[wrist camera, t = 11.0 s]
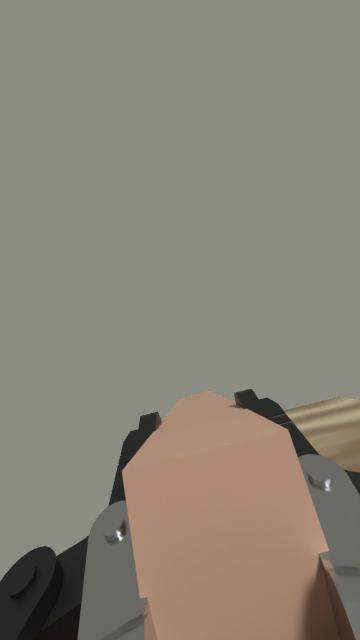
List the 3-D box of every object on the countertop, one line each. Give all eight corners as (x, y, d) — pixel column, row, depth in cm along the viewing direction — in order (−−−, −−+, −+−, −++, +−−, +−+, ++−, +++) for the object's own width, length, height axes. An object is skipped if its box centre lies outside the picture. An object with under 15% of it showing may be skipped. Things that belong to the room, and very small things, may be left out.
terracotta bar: (366, 660, 4) (288, 429, 5) (157, 714, 4) (121, 470, 5) (218, 422, 25) (210, 390, 26) (188, 430, 25) (180, 397, 26)
